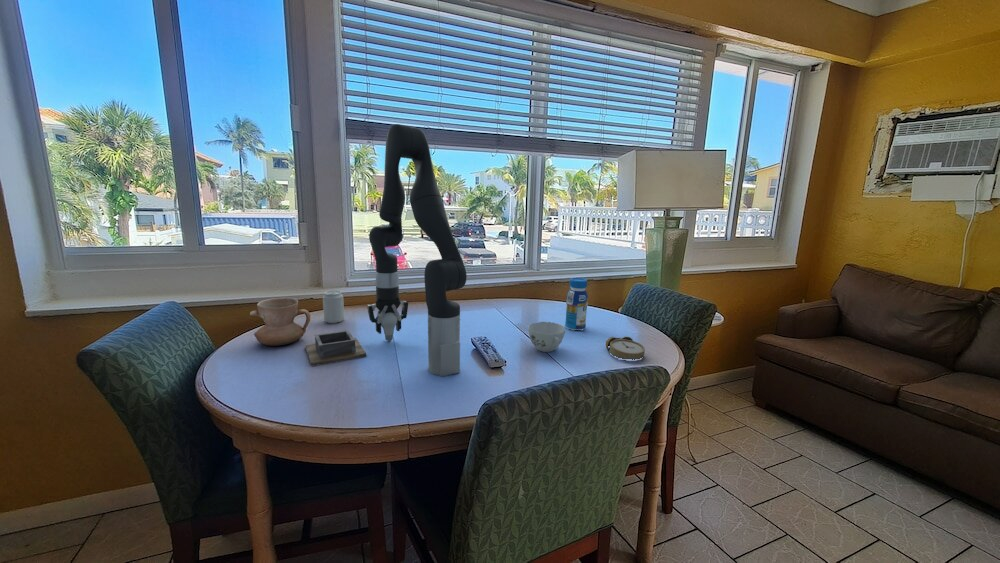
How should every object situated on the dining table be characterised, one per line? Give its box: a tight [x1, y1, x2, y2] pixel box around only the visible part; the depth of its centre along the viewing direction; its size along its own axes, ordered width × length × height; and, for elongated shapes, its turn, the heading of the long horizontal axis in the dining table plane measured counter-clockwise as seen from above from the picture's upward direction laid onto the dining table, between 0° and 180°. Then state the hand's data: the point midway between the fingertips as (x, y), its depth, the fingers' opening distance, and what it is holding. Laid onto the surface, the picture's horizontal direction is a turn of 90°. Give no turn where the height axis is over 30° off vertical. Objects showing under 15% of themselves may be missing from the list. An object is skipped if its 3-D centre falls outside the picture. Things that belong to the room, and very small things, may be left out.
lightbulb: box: [380, 312, 397, 342], centre depth 139 cm, size 6×6×11 cm
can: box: [322, 290, 345, 324], centre depth 160 cm, size 8×8×12 cm
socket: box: [305, 330, 367, 366], centre depth 129 cm, size 16×16×5 cm
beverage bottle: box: [564, 277, 589, 331], centre depth 159 cm, size 8×8×20 cm
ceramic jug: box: [249, 297, 311, 347], centre depth 136 cm, size 18×14×14 cm
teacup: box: [527, 321, 566, 353], centre depth 136 cm, size 15×12×8 cm
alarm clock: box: [605, 336, 647, 360], centre depth 136 cm, size 11×5×15 cm
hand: (388, 331), depth 140 cm, fingers closed on lightbulb, 6 cm apart
